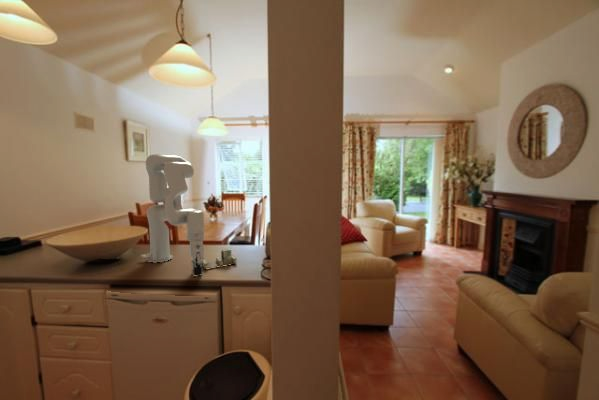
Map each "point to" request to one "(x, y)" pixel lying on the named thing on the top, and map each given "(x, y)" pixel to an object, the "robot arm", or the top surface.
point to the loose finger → (194, 266)
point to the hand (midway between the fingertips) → (196, 271)
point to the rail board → (221, 259)
